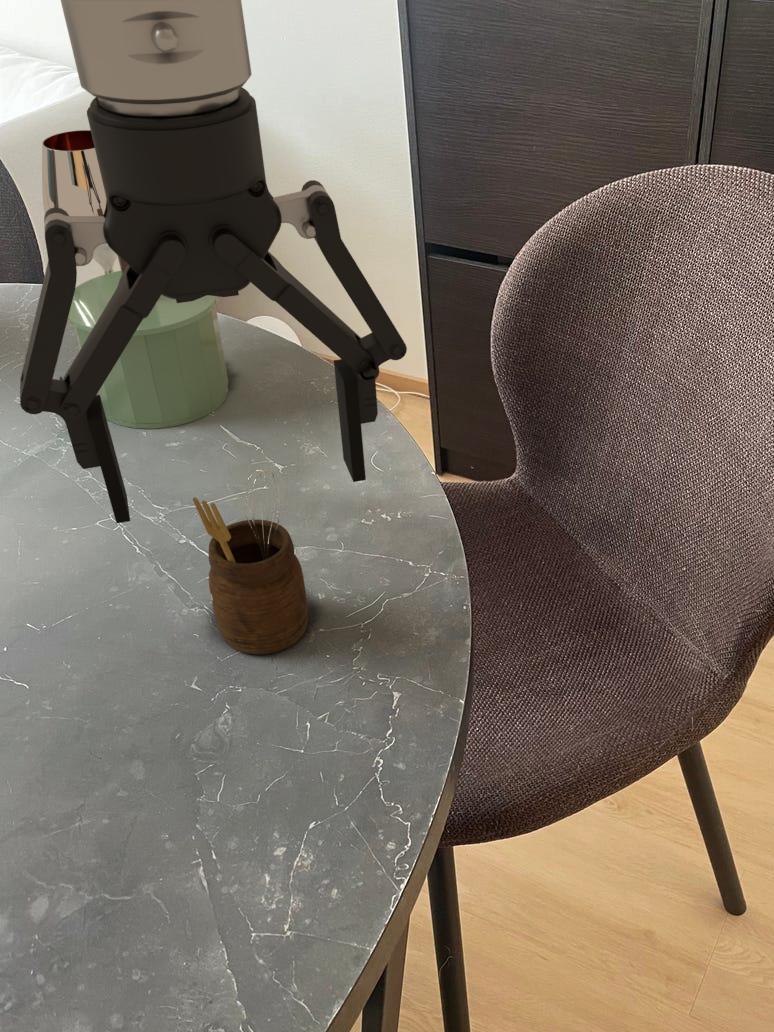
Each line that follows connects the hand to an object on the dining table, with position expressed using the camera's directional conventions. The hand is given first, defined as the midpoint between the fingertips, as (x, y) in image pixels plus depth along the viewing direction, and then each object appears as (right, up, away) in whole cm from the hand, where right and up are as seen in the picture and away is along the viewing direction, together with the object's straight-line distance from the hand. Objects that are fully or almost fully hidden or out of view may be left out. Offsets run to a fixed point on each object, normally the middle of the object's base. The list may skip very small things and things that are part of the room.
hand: (241, 489), depth 61 cm
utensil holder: (0, -8, +8) cm, 11 cm away
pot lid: (-14, +19, +25) cm, 34 cm away
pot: (-14, +13, +31) cm, 36 cm away
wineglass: (-20, +20, +38) cm, 47 cm away
